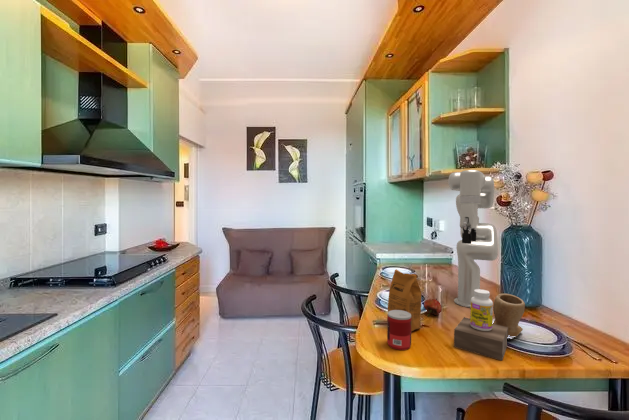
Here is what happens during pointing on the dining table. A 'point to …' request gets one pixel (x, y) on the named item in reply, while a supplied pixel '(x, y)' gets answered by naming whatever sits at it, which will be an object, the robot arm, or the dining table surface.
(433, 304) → the pomegranate
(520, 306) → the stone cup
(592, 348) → the dining table surface
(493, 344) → the block
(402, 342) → the canned food
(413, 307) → the coffee package
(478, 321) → the supplement bottle
